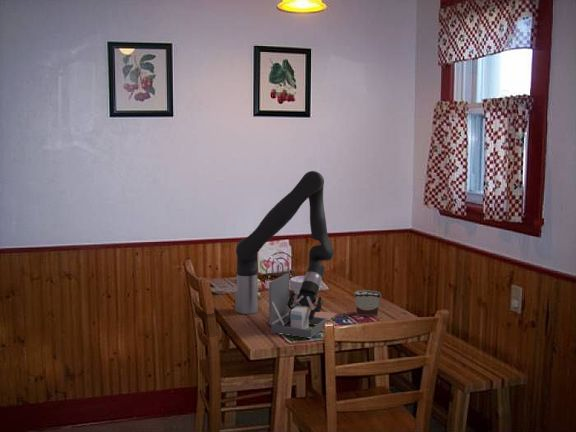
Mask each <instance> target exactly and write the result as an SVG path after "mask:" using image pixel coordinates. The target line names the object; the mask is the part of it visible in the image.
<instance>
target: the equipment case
mask: <svg viewBox="0 0 576 432" xmlns="http://www.w3.org/2000/svg"><path fill="white" fill-rule="evenodd" d="M268 284H269V285H268V286H269V287H268V289H269V290H268V293H269V295H268V297H269V299H268V303H269V305H268V306H269V307H268V310H269V313H268V314H269V316H268V317H269V318H268V319H269V322H268V323H269V325H270V332H271V333H270V334H274V333H283V334H289V335H295V336H303V337H312V336H314V335H315V334H317V333H318V332H319V331H321V330H322V328H323V324H324V323H326V322H327V318H320V317H314V318H313V319H312V320H309V323H310V324H317V325H314V326H313V327H311V329H309V328H308V329H301V328H294V327H291V326H287V324H286V323H288V322H289V323H291V322H290V321H291V319H290V316H289V311H290V308H289V307H288V305H287V304H288V301H289V299H290V272H287V273H285V274H282V275H281V276H279V277H278V278H275V279H273V280H270V281H269V282H268ZM289 323H288V324H289ZM327 323H328V322H327ZM285 324H286V325H285ZM284 325H285V326H284ZM322 331H323V330H322ZM322 331H321V332H322ZM318 334H319V333H318ZM318 334H317V335H318Z"/></svg>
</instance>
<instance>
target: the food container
mask: <svg viewBox="0 0 576 432" xmlns="http://www.w3.org/2000/svg"><path fill="white" fill-rule="evenodd" d="M353 298H354V299H355V300H354V301H355V312H356V316H379V307H380V301H381V298H382V294H381V292H379V291H376V290H370V289H365V290H364V289H362V290H357V291H355V292H354V294H353Z"/></svg>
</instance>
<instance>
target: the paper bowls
mask: <svg viewBox="0 0 576 432" xmlns="http://www.w3.org/2000/svg"><path fill="white" fill-rule="evenodd" d="M304 277H305V275H296V276H292V277H291V278H289V290H291V291H293V294H294V295H298V294H299V292H300V289H301V286H302V283H303V280H304ZM321 285H322V283H321V284H320V288H319V290H321Z"/></svg>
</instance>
